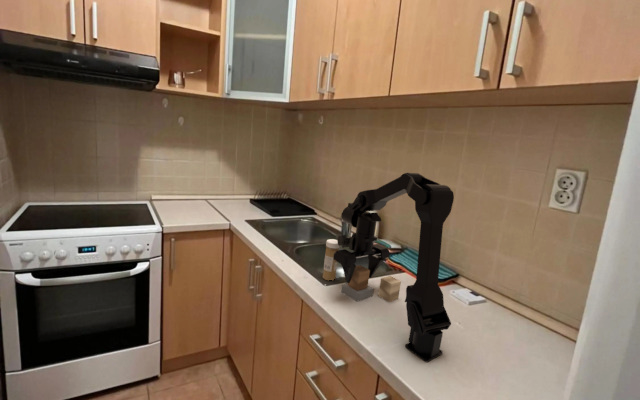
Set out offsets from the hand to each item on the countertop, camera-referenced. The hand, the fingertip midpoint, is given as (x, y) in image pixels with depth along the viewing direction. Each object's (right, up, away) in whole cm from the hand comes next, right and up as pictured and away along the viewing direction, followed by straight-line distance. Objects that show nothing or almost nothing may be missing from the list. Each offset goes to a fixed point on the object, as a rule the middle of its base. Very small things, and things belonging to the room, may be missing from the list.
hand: (358, 280), depth 107 cm
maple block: (+9, -6, +1) cm, 11 cm away
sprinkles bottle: (-9, -2, +10) cm, 14 cm away
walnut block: (0, -2, 0) cm, 2 cm away
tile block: (-1, -5, +1) cm, 5 cm away
